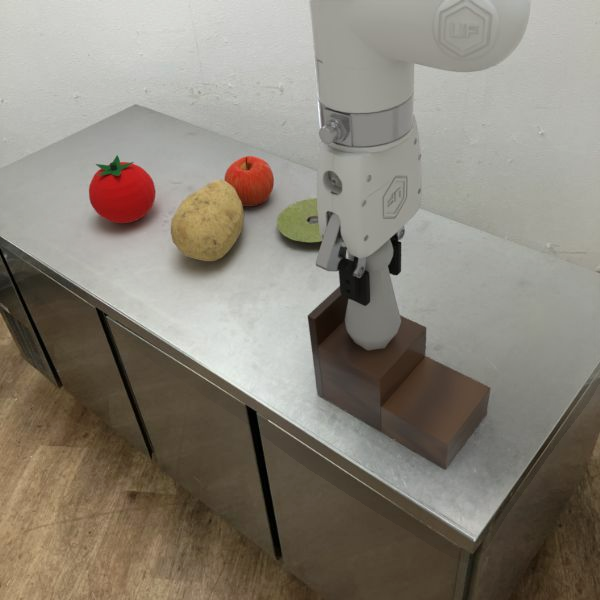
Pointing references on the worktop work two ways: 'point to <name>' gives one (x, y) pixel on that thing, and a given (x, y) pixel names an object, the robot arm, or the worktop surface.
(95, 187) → the tomato
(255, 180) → the apple
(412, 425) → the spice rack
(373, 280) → the salt shaker
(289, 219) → the mat
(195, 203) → the potato
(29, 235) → the worktop surface
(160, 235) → the worktop surface
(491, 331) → the worktop surface
